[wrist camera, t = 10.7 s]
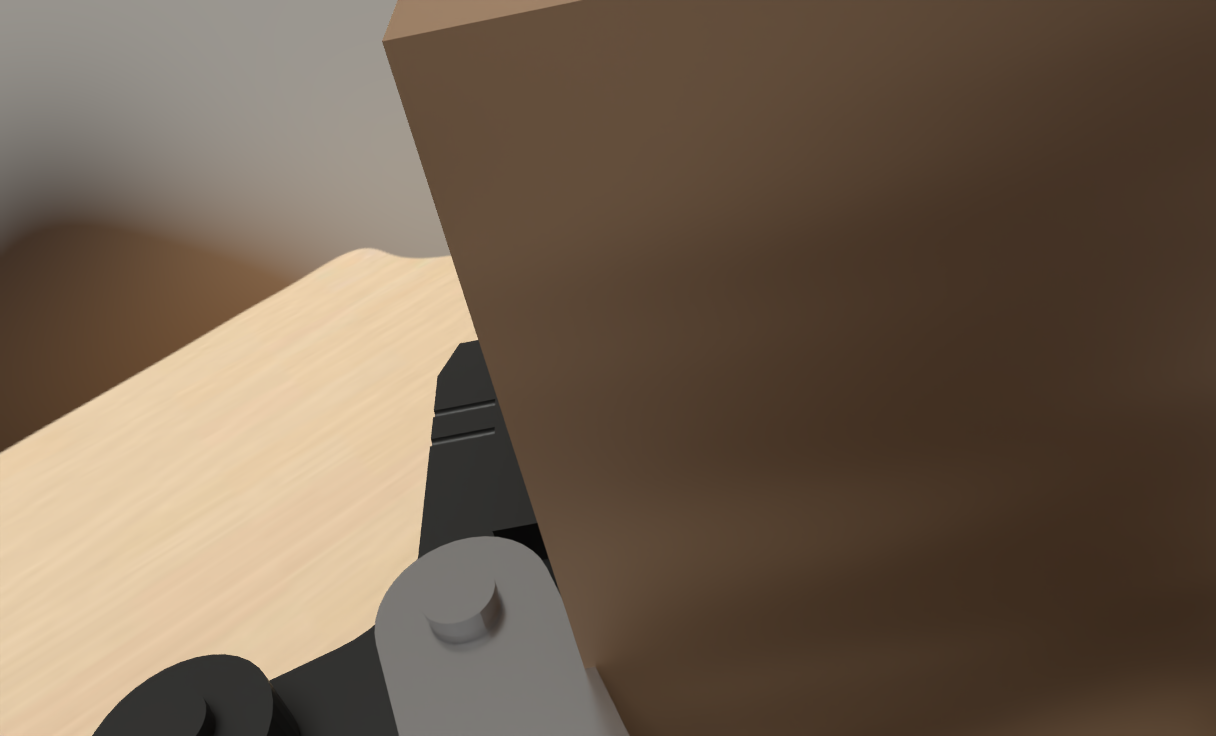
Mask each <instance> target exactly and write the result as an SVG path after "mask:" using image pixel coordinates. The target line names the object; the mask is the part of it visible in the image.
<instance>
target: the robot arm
mask: <svg viewBox="0 0 1216 736" xmlns="http://www.w3.org/2000/svg"><path fill="white" fill-rule="evenodd" d="M434 412H435V417H433V424H432V434H431V441H432V446H430V452H429V462H428V471H427V480H426V490H425V499H424V508H423V517H422V527H421V536H420V545H419V555H418V560H416V561H415V562H414V563H412V564H411V565H410V566H409V567H408V568H406V569H405V570H404V571H403V572H402V573H401V574H400V575H399V577H398V578H397V579H396V580H395V581H394V582H393V584H392V585H391V586H390V588H389V589H388V591H387V592H386V594H385V596H384V598H383V600H382V602H381V604H380V606H379V609H378V613H377V617H376V621H375V625H374V626H373V627H372V628H370V629H369V630H368V631H366V632H365V633H363V634H362V635H360V636H359V637H357V638H356V639H355V640H353V641H351V642H349V643H347V644H345V645H343V646H342V647H340V648H338V649H336V650H333V651H331V652H329V653H327V654H325V655H323V656H321V657H319V658H316V659H314V660H312V661H310V662H308V663H306V664H304V665H302V666H300V667H297V668H295V669H293V670H291V671H289V672H287V673H285V674H283V675H280V676H278V677H276V678H274V679H272V680H270V681H269V680H268V679H267V677H266V676H265V675H264V673H263V672H262V671H261V670H260V668H259V667H257V666H256V665H254V664H253V663H252V662H250V661H248V660H246V659H243V658H241V657H238V656H232V655H226V654H222V655H207V656H201V657H196V658H192V659H189V660H186V661H183V662H180V663H178V664H175V665H173V666H171V667H169V668H166V669H164V670H163V671H161V672H159V673H157V674H156V675H154V676H152V677H151V678H149V679H147V680H146V681H145V682H143V683H142V684H141V685H139V686H138V687H136V688H135V689H134V690H133V691H131V692H130V693H129V694H128V695H127V696H126V697H125V698H124V699H122V700H121V701H120V702H119V703H118V704H117V705H116V706H115V707H114V709H113V710H112V711H111V712H110V713H109V714H108V715H107V716H106V717H105V719H104V720H103V722H102V723H101V724H100V726H99V727H98V728H97V730H96V731H95V732H94V734H93V735H92V736H629V734H628V732H627V730H626V728H625V726H624V724H623V722H622V720H621V718H620V716H619V714H618V712H617V709H616V707H615V705H614V703H613V701H612V699H611V697H610V695H609V693H608V691H607V689H606V687H605V685H604V683H603V681H602V679H601V677H600V675H599V673H598V671H597V669H596V667H591V668H585V669H584V666H583V663H582V659H581V656H580V653H579V650H578V647H577V644H576V641H575V638H574V635H573V632H572V628H571V625H570V622H569V619H568V616H567V613H566V610H565V607H564V604H563V600H562V597H561V594H560V591H559V588H558V585H557V582H556V579H555V576H554V573H553V569H552V566H551V563H550V560H549V557H548V554H547V551H546V548H545V545H544V542H543V538H542V535H541V532H540V529H539V526H538V523H537V520H536V517H535V514H534V511H533V507H532V504H531V501H530V498H529V495H528V492H527V489H526V486H525V483H524V480H523V476H522V473H521V470H520V467H519V464H518V461H517V458H516V455H515V452H514V449H513V445H512V442H511V439H510V436H509V433H508V430H507V427H506V424H505V421H504V417H503V414H502V411H501V408H500V405H499V402H498V399H497V396H496V393H495V390H494V386H493V383H492V380H491V377H490V374H489V371H488V368H487V365H486V362H485V359H484V355H483V352H482V349H481V346H480V343H479V340H476V341H471V342H465V343H460V344H459V345H458V347H457V348H456V350H455V351H454V353H453V354H452V356H451V357H450V359H449V360H448V362H447V363H446V365H445V366H444V368H443V369H442V371H441V372H440V374H439V375H438V378H437V387H436V397H435V406H434Z"/></svg>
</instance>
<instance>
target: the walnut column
mask: <svg viewBox="0 0 1216 736" xmlns="http://www.w3.org/2000/svg"><path fill="white" fill-rule="evenodd" d="M382 42H383V45H384V48H385V51H386V55H387V58H388V61H389V64H390V67H391V70H392V73H393V76H394V79H395V82H396V86H397V89H398V92H399V95H400V98H401V101H402V104H403V107H404V110H405V114H406V117H407V120H408V123H409V126H410V129H411V132H412V135H413V138H414V141H415V145H416V147H417V151H418V154H419V157H420V160H421V163H422V166H423V169H424V172H425V176H426V179H427V182H428V185H429V188H430V191H431V194H432V197H433V200H434V203H435V206H436V210H437V213H438V216H439V219H440V222H441V225H442V228H443V231H444V234H445V238H446V241H447V244H448V247H449V250H450V253H451V256H452V259H453V262H454V266H455V269H456V272H457V275H458V278H459V281H460V284H461V287H462V290H463V293H464V297H465V300H466V303H467V306H468V309H469V312H470V315H471V318H472V321H473V324H474V328H475V331H476V334H477V337H478V340H479V343H480V346H481V349H482V352H483V355H484V359H485V362H486V365H487V368H488V371H489V374H490V377H491V380H492V383H493V386H494V390H495V393H496V396H497V399H498V402H499V405H500V408H501V411H502V414H503V417H504V421H505V424H506V427H507V430H508V433H509V436H510V439H511V442H512V445H513V449H514V452H515V455H516V458H517V461H518V464H519V467H520V470H521V473H522V476H523V480H524V483H525V486H526V489H527V492H528V495H529V498H530V501H531V504H532V507H533V511H534V514H535V517H536V520H537V523H538V526H539V529H540V532H541V535H542V538H543V542H544V545H545V548H546V551H547V554H548V557H549V560H550V563H551V566H552V569H553V573H554V576H555V579H556V582H557V585H558V588H559V591H560V594H561V597H562V600H563V604H564V607H565V610H566V613H567V616H568V619H569V622H570V625H571V628H572V632H573V635H574V638H575V641H576V644H577V647H578V650H579V653H580V656H581V659H582V663H583V666H584V669H585V668H591V667H596V669H597V671H598V673H599V675H600V677H601V679H602V681H603V683H604V685H605V687H606V689H607V691H608V693H609V695H610V697H611V699H612V701H613V703H614V705H615V707H616V709H617V712H618V714H619V716H620V718H621V720H622V722H623V724H624V726H625V728H626V730H627V732H628V734H629V736H1216V0H398V1H397V4H396V7H395V9H394V12H393V14H392V17H391V20H390V22H389V25H388V27H387V30H386V33H385V35H384V38H383V41H382Z"/></svg>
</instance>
